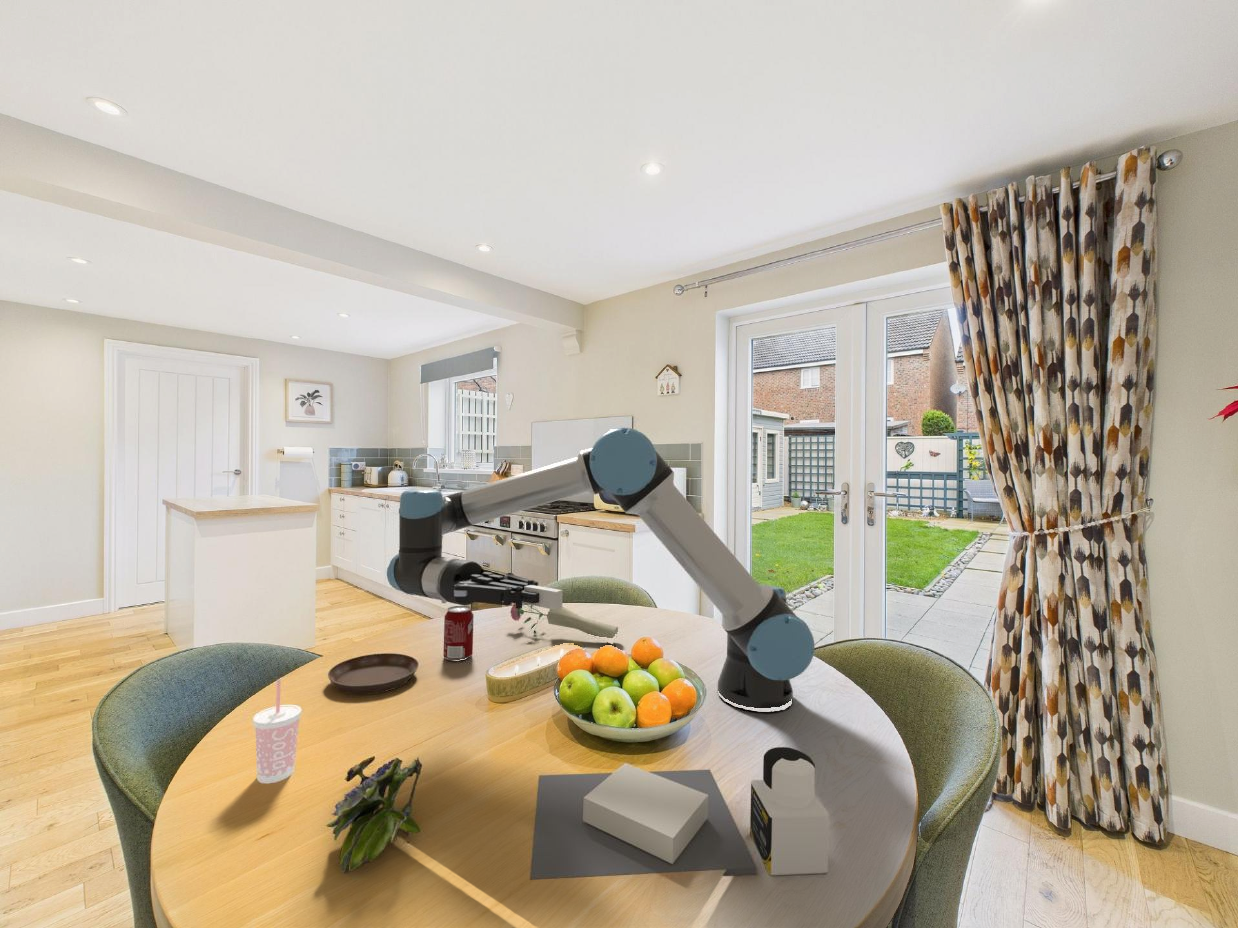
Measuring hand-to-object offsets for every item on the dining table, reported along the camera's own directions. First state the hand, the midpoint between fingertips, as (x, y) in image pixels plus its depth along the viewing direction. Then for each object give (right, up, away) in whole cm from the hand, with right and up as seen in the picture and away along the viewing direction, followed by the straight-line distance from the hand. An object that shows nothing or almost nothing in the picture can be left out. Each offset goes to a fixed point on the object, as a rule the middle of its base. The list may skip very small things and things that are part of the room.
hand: (559, 599), depth 80 cm
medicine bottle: (+30, -27, -15) cm, 43 cm away
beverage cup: (-42, -26, -2) cm, 49 cm away
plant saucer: (-44, -26, +33) cm, 61 cm away
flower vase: (-8, -27, +66) cm, 72 cm away
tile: (+7, -24, -8) cm, 26 cm away
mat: (+11, -27, -10) cm, 31 cm away
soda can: (-30, -26, +48) cm, 62 cm away
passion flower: (-21, -26, -14) cm, 36 cm away
